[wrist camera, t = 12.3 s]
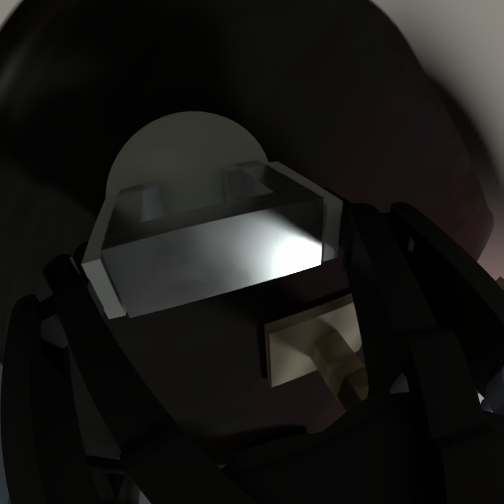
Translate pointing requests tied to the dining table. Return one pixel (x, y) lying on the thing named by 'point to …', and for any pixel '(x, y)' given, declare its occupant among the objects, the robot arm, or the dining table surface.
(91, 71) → the dining table surface
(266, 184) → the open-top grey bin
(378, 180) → the dining table surface
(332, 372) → the peg stand
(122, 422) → the robot arm
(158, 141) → the felt pad
